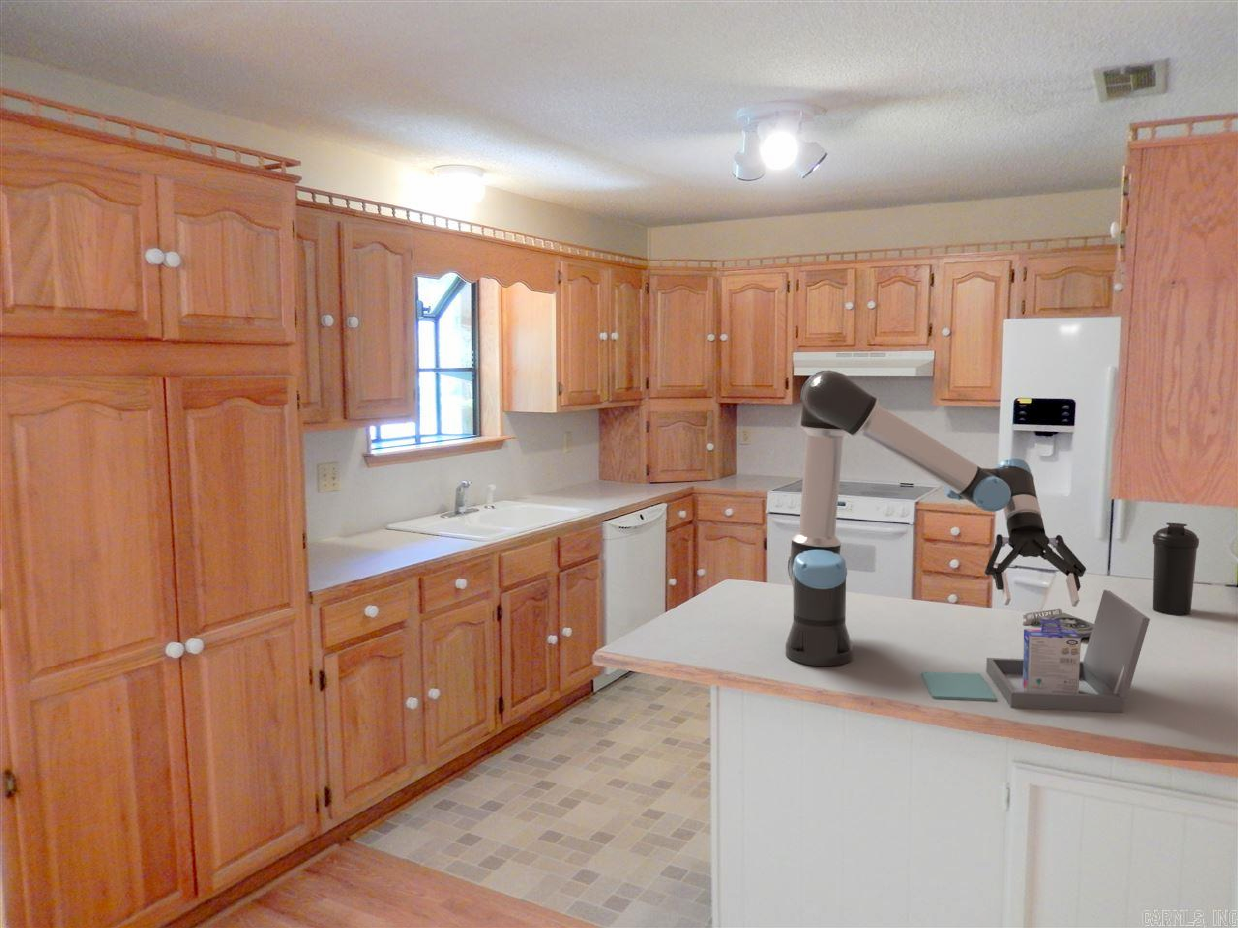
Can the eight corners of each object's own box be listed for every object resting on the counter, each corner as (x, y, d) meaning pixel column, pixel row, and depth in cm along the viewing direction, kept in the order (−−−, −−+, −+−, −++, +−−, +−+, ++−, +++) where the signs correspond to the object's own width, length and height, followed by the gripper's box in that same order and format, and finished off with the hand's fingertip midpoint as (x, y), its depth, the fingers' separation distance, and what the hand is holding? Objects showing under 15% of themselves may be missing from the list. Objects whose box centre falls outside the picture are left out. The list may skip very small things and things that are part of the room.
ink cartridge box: (1072, 687, 182) (1075, 618, 180) (1080, 697, 176) (1083, 626, 174) (1020, 684, 184) (1023, 616, 182) (1027, 694, 178) (1029, 624, 176)
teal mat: (932, 698, 177) (932, 695, 177) (921, 673, 191) (921, 671, 191) (996, 700, 175) (996, 698, 175) (979, 675, 189) (979, 673, 189)
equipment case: (1010, 707, 172) (1014, 613, 169) (986, 671, 191) (989, 586, 189) (1144, 713, 168) (1150, 617, 165) (1105, 675, 187) (1109, 589, 185)
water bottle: (1194, 608, 234) (1199, 523, 231) (1194, 618, 226) (1200, 529, 223) (1149, 603, 240) (1154, 519, 237) (1148, 612, 231) (1153, 526, 228)
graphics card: (1020, 612, 224) (1060, 606, 227) (1019, 626, 224) (1059, 621, 227) (1070, 632, 207) (1112, 626, 211) (1069, 648, 208) (1111, 641, 211)
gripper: (1078, 529, 201) (1099, 612, 188) (962, 528, 205) (976, 609, 192) (1087, 510, 195) (1110, 595, 182) (968, 509, 199) (982, 592, 186)
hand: (1041, 602), depth 187 cm, fingers open, 13 cm apart
